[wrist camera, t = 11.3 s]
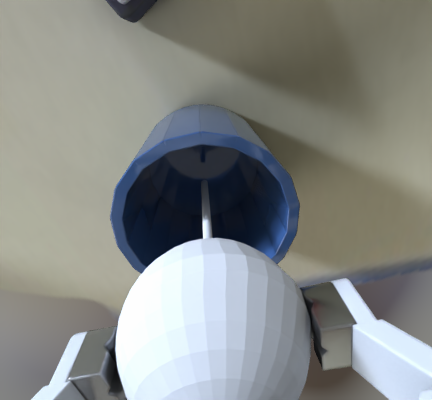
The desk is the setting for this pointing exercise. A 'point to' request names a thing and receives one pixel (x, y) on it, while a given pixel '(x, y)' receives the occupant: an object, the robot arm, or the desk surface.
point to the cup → (191, 188)
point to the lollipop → (213, 325)
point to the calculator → (131, 8)
